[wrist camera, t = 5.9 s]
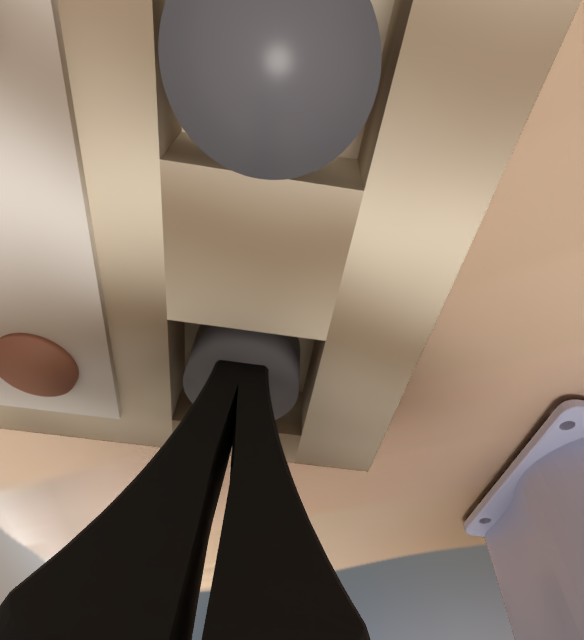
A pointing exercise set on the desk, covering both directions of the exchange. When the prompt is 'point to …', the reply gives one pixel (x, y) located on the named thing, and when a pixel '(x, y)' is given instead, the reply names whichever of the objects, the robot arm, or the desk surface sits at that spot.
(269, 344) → the button
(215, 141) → the middle button
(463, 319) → the desk surface
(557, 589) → the robot arm
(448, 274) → the button board
